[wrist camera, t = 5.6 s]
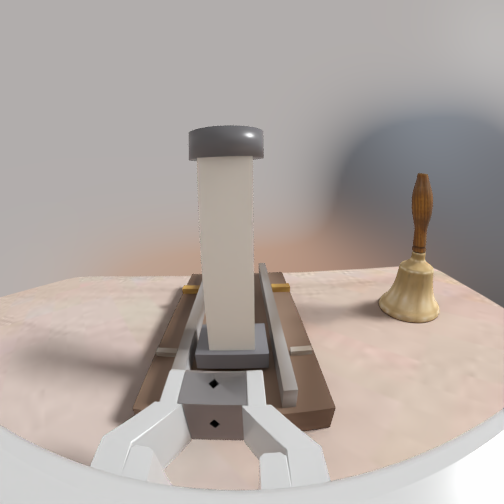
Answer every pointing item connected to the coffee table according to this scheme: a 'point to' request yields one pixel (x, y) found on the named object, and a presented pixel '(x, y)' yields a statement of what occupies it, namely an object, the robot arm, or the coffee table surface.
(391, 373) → the coffee table surface
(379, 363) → the coffee table surface
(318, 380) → the fader track
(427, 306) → the hand bell
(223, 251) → the fader tab
